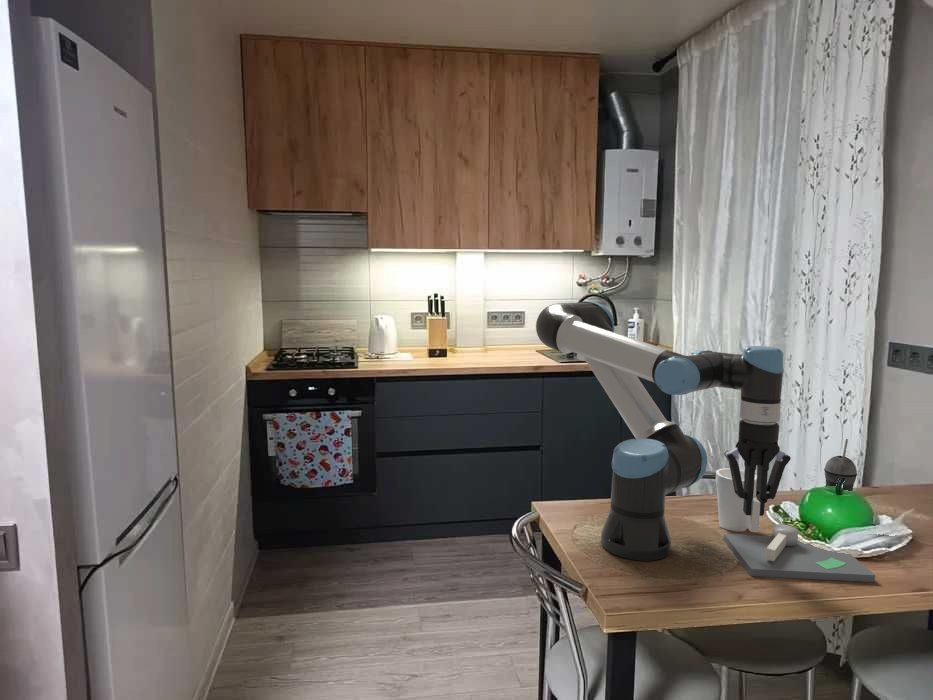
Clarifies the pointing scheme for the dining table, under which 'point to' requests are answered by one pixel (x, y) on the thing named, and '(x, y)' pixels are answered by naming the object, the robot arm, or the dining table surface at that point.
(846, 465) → the beverage cup
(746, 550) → the board
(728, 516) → the foam cup
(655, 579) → the dining table surface
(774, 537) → the white knobbed bar
